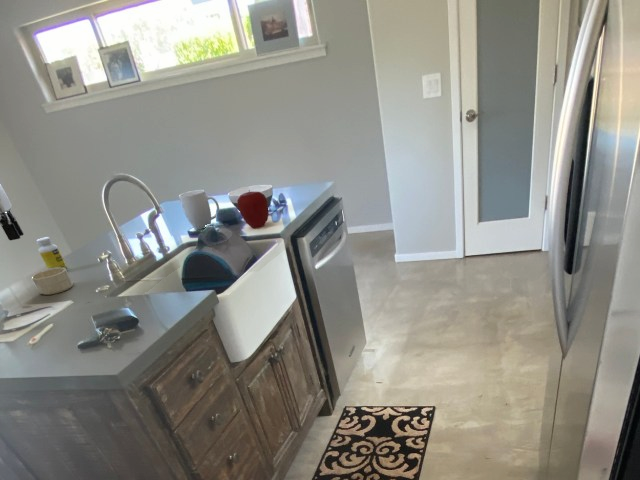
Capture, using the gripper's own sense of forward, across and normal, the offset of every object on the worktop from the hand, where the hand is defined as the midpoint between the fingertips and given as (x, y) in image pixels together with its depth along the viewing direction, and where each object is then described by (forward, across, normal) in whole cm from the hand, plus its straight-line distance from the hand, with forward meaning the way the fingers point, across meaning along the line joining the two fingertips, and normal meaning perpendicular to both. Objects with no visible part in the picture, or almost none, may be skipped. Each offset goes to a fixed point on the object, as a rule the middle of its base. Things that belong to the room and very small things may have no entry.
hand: (16, 236), depth 157 cm
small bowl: (+19, -12, 0) cm, 23 cm away
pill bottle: (+19, -37, -3) cm, 42 cm away
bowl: (+19, -66, +77) cm, 103 cm away
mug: (+19, -63, +54) cm, 85 cm away
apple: (+19, -42, +75) cm, 88 cm away
